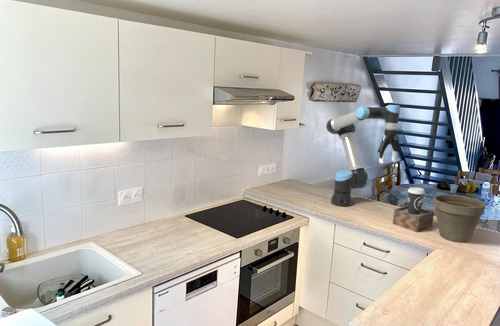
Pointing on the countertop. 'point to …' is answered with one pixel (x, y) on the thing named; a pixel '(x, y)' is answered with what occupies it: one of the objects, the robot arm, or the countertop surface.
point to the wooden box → (413, 219)
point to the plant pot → (457, 216)
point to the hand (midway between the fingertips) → (387, 162)
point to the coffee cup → (415, 200)
